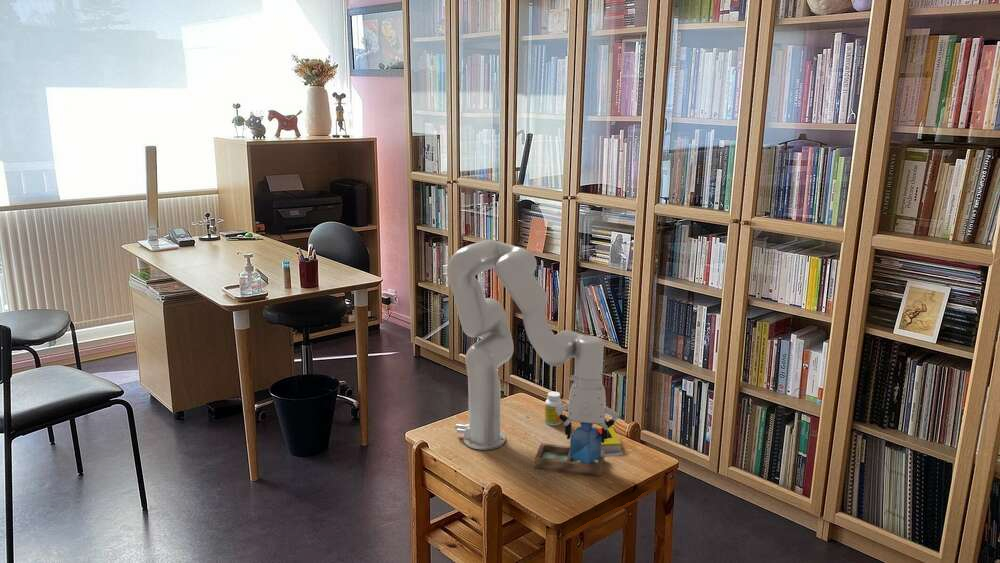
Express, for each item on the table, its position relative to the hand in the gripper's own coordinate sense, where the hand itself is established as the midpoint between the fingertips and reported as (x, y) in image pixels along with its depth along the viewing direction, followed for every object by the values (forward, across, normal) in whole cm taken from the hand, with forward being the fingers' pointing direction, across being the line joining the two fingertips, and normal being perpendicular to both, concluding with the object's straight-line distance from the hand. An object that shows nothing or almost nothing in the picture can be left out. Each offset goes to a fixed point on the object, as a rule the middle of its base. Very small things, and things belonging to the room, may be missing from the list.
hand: (585, 438), depth 200 cm
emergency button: (+9, +3, +15) cm, 18 cm away
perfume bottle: (+6, 0, 0) cm, 6 cm away
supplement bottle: (+9, -13, +26) cm, 30 cm away
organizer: (+8, -4, 0) cm, 9 cm away
